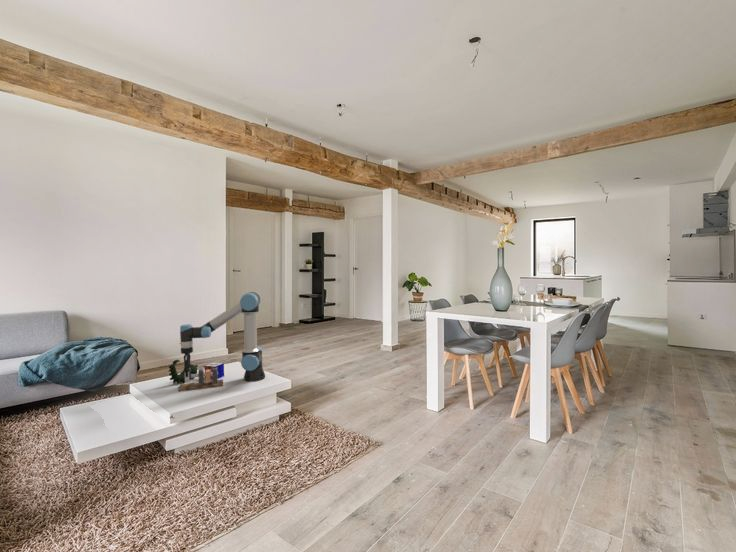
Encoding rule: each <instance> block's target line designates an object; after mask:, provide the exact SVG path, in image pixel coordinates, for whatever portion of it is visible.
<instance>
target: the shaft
mask: <svg viewBox="0 0 736 552" xmlns="http://www.w3.org/2000/svg"><path fill="white" fill-rule="evenodd" d="M217 375H218V371H217ZM205 376H206V373H205V372H204V373H203V377H204V378H205ZM210 376H213V372H210ZM191 378H194V379H195V378H199V375H198V373H197V374H191V368H190V369H189V381H190V380H192V379H191ZM184 380H185V372H184Z"/></svg>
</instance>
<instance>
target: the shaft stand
mask: <svg viewBox="0 0 736 552" xmlns="http://www.w3.org/2000/svg"><path fill="white" fill-rule="evenodd" d="M212 372H213V380H207V381H206V380H205V376H204V377H203V373H205V370H204V368H200V369H199V368H198V370H197V374H198V375H199V377H198V381H197V382H189V383H187V382H186V383H179V386H178V390H177V391H178V393H179V392H186V391H194V390H196V391H197V390H202V389H212V388H218V387H220V388H221V387H223V386H224V379H218V376H217V368H213V370H212Z"/></svg>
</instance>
